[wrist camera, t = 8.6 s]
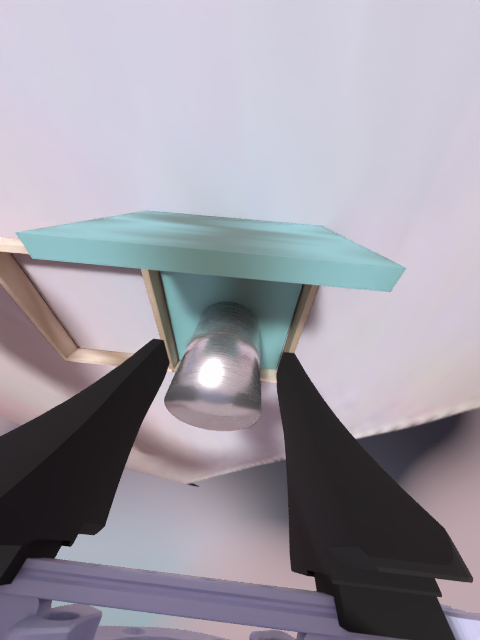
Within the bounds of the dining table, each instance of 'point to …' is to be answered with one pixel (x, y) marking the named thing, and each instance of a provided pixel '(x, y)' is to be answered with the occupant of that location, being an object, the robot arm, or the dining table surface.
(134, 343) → the dining table surface
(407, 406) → the dining table surface
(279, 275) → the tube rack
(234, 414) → the grey peg
